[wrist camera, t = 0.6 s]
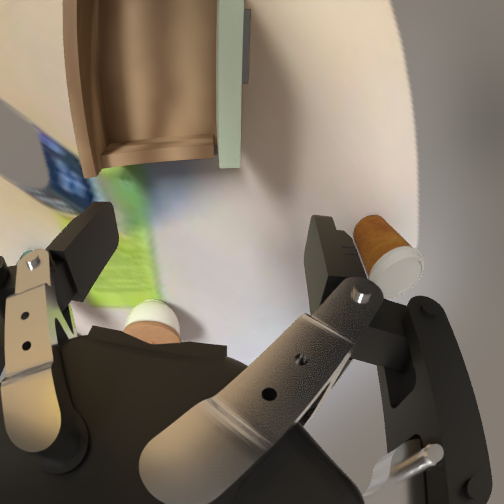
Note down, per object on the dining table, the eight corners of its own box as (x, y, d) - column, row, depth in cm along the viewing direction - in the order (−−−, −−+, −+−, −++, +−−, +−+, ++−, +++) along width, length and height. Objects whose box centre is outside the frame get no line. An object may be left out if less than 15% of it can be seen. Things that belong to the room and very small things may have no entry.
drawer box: (109, 156, 34) (86, 188, 28) (96, -31, 17) (66, -45, 11) (228, 145, 36) (234, 175, 29) (233, -49, 19) (240, -74, 12)
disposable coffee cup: (334, 241, 49) (360, 293, 40) (367, 198, 44) (404, 245, 35) (370, 256, 53) (397, 304, 44) (401, 219, 48) (436, 264, 39)
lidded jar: (183, 325, 59) (183, 364, 52) (134, 324, 57) (129, 363, 50) (179, 290, 52) (177, 333, 45) (122, 290, 51) (114, 332, 44)
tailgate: (216, 126, 31) (219, 168, 22) (218, -31, 19) (222, -68, 10) (235, 125, 31) (247, 167, 22) (239, -31, 19) (255, -67, 10)
